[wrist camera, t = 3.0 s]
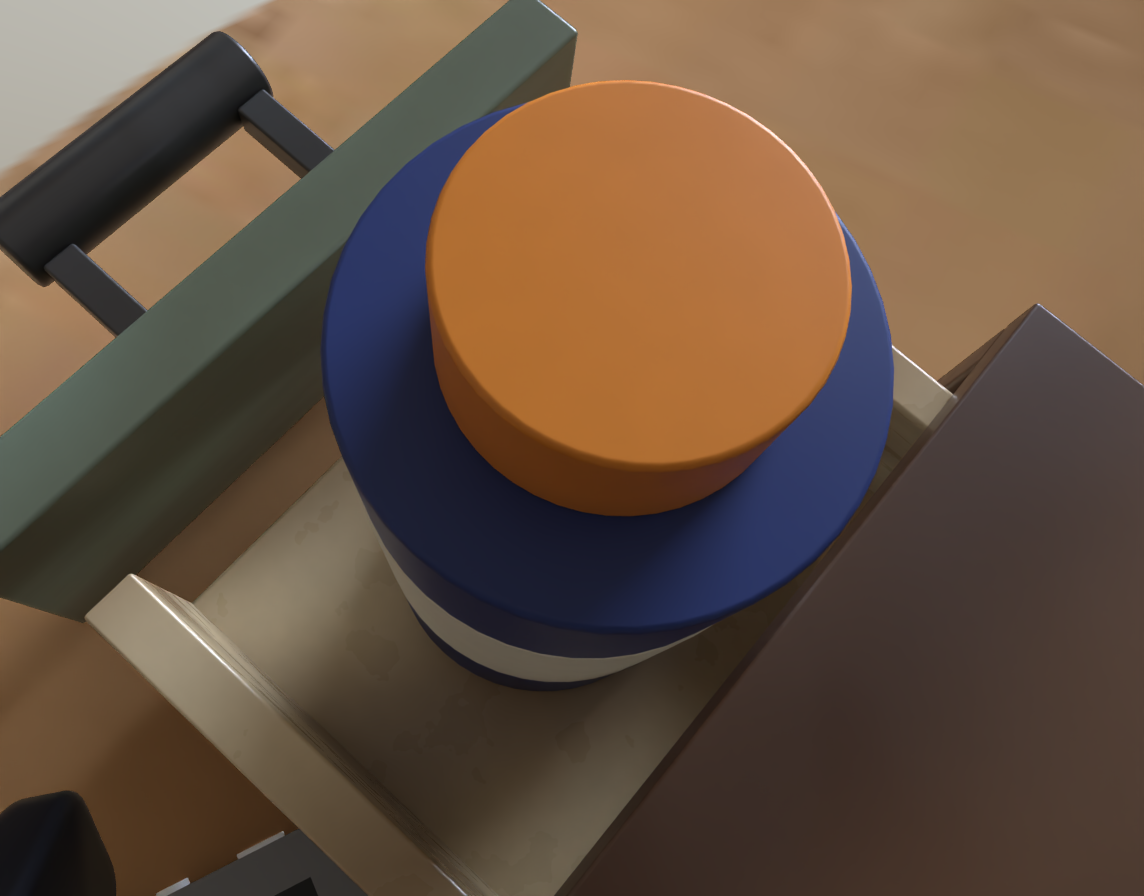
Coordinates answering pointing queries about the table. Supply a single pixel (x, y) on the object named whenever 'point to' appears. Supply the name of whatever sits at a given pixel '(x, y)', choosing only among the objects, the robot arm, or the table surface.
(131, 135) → the drawer
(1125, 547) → the cabinet
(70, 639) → the table surface
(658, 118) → the glue bottle
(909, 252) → the table surface
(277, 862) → the smartphone
